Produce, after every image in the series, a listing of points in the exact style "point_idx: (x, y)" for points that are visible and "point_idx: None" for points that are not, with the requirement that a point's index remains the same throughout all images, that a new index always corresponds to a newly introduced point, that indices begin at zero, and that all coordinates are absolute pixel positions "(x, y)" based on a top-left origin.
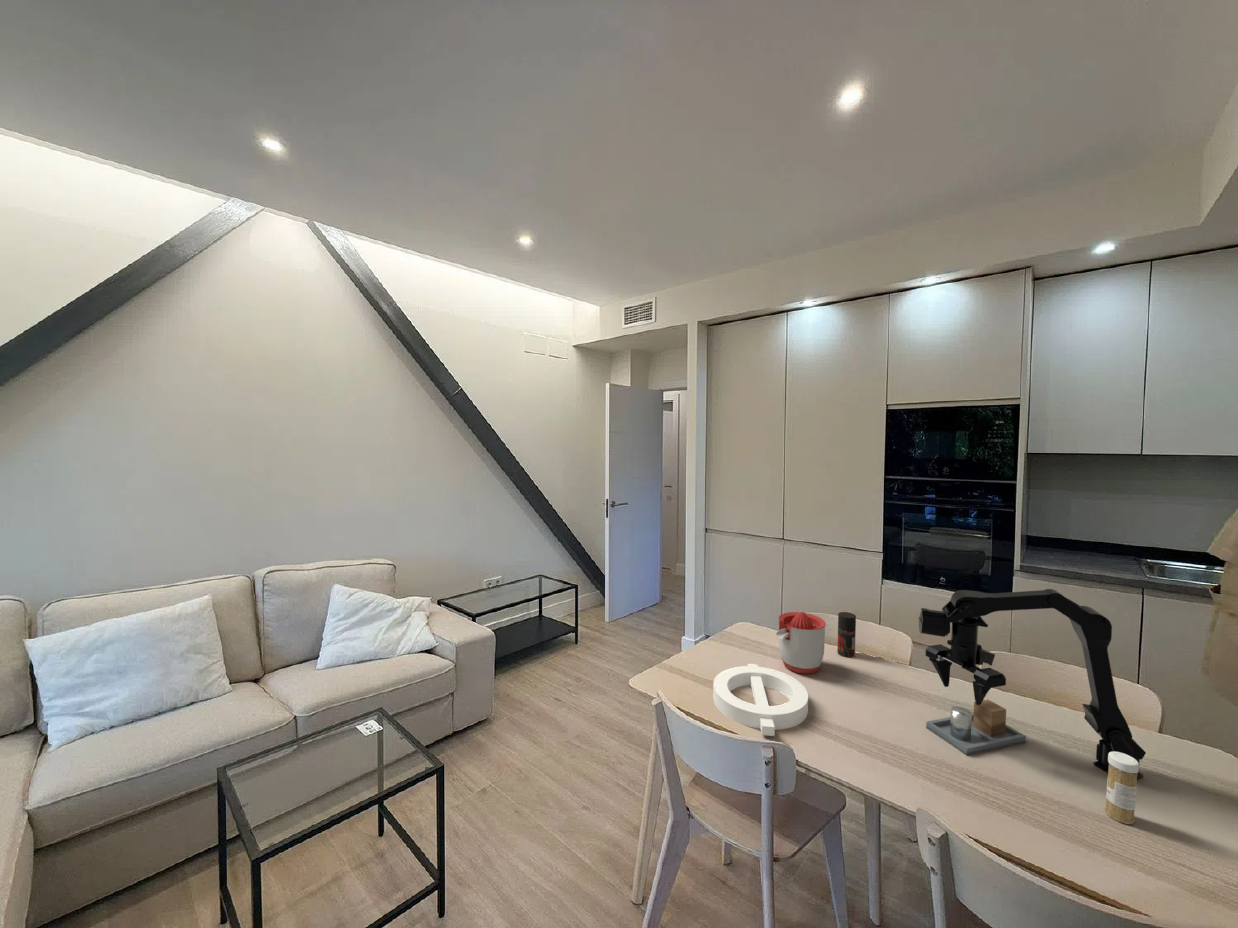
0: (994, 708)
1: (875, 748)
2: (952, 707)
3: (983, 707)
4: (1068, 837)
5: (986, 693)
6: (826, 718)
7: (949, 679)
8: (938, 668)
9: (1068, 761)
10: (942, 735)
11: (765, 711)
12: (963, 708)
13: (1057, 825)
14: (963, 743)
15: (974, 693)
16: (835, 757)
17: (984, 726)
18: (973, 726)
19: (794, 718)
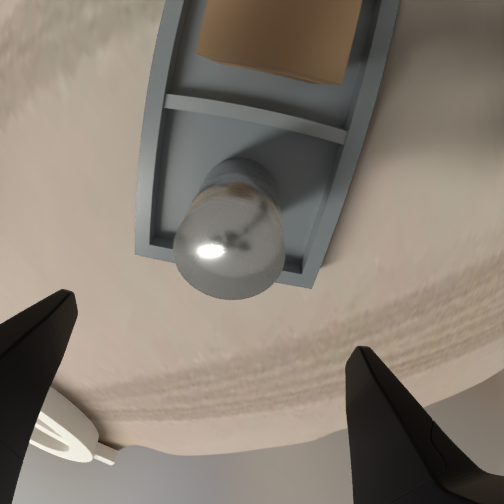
0: (324, 17)
1: (179, 401)
2: (179, 262)
3: (274, 67)
4: (496, 333)
5: (434, 427)
6: (71, 384)
7: (39, 324)
8: (19, 467)
9: (494, 27)
10: None
11: (84, 457)
12: (215, 215)
13: (488, 324)
14: None
15: (354, 466)
16: (179, 440)
17: (279, 74)
18: (223, 66)
19: (88, 434)
